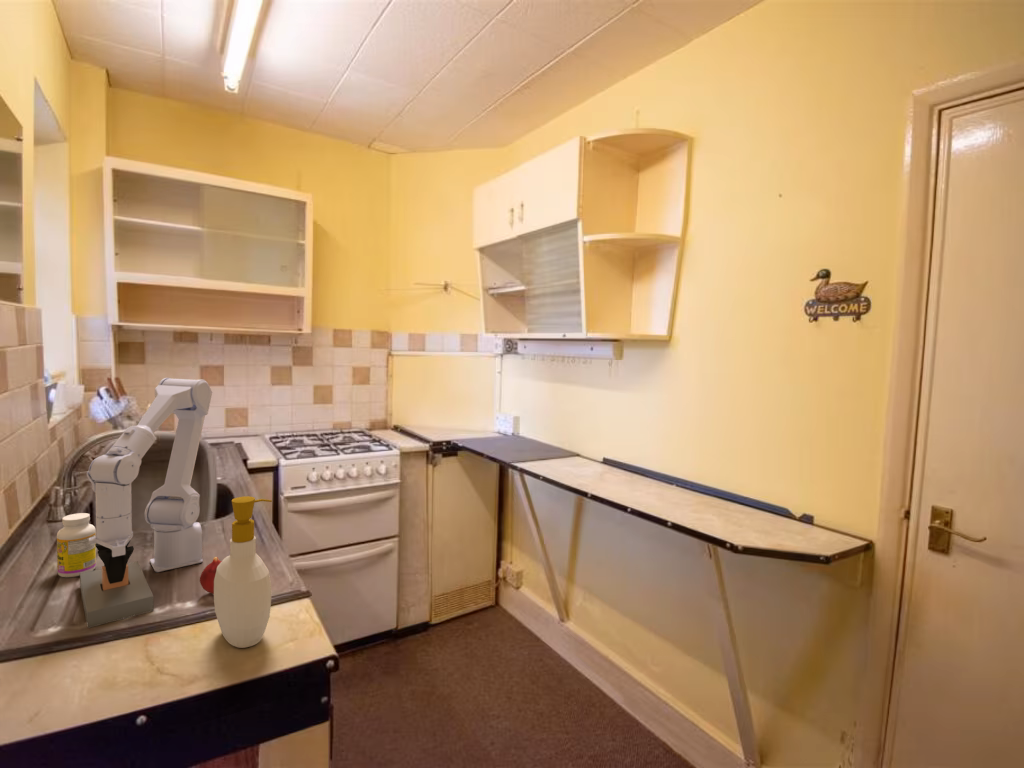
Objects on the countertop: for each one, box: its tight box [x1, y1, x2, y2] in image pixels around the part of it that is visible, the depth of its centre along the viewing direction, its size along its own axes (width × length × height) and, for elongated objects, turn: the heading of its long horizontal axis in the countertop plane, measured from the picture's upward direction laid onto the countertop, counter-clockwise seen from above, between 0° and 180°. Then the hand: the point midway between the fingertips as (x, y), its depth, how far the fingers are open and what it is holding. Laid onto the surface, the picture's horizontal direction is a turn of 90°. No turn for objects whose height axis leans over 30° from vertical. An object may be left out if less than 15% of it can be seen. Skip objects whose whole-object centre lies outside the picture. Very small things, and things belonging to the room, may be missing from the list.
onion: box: [199, 556, 223, 595], centre depth 108 cm, size 6×6×8 cm
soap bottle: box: [213, 495, 273, 649], centre depth 93 cm, size 14×9×26 cm, turn 48°
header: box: [79, 560, 154, 629], centre depth 104 cm, size 10×20×3 cm, turn 43°
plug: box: [101, 564, 128, 591], centre depth 104 cm, size 4×3×6 cm
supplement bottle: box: [56, 512, 97, 578], centre depth 114 cm, size 7×7×13 cm
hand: (114, 578), depth 104 cm, fingers closed on plug, 3 cm apart
